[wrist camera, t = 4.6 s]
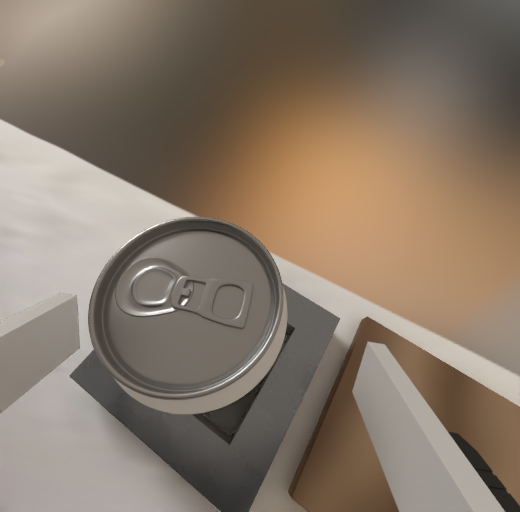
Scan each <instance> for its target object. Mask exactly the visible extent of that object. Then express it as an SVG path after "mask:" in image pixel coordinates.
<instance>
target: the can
mask: <svg viewBox="0 0 520 512" xmlns="http://www.w3.org/2000/svg"><path fill="white" fill-rule="evenodd" d="M287 316H288V311H287V300H286V295H285V291H284V288H283V285H282V280H281V276H280V273H279V270H278V268H277V265H276V263H275V261H274V259H273V258H272V256H271V254H270V253H269V251H268V250H267V249H266V248H265V246H263V244H262V243H261V242H260V241H259V240H258V239H257V238H256V237H254V236H253V235H252V234H250V233H249V232H247V231H246V230H244V229H243V228H241V227H239V226H237V225H235V224H232V223H229V222H226V221H223V220H219V219H215V218H207V217H186V218H179V219H174V220H170V221H166V222H163V223H160V224H157V225H155V226H153V227H150V228H148V229H146V230H144V231H143V232H141V233H139V234H138V235H136V236H135V237H133V238H132V239H130V240H129V241H128V242H127V243H125V244H124V245H123V246H122V247H121V248H120V249H119V250H118V251H117V252H116V253H115V254H114V255H113V256H112V257H111V259H110V260H109V261H108V263H107V264H106V265H105V267H104V268H103V270H102V272H101V273H100V275H99V277H98V279H97V281H96V284H95V286H94V289H93V292H92V295H91V299H90V304H89V313H88V324H89V333H90V338H91V342H92V345H93V348H94V350H95V352H96V355H97V357H98V358H99V360H100V362H101V363H102V365H103V366H104V367H105V369H106V370H107V371H108V372H109V373H110V374H111V375H112V376H113V377H114V379H115V380H116V382H117V383H118V384H119V385H120V386H121V388H122V389H123V390H124V391H125V392H127V393H128V394H129V395H130V396H131V397H133V398H134V399H135V400H137V401H139V402H140V403H142V404H144V405H146V406H148V407H151V408H153V409H156V410H159V411H163V412H168V413H174V414H198V413H204V412H209V411H213V410H216V409H219V408H222V407H224V406H227V405H229V404H231V403H233V402H235V401H237V400H238V399H240V398H241V397H243V396H244V395H246V394H247V393H248V392H250V391H251V390H252V389H253V388H254V387H255V386H256V385H257V384H258V383H259V382H260V381H261V380H262V379H263V378H264V376H265V375H266V374H267V373H268V371H269V370H270V368H271V367H272V365H273V364H274V362H275V360H276V358H277V356H278V354H279V352H280V349H281V347H282V344H283V341H284V337H285V333H286V327H287Z"/></svg>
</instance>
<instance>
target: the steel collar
mask: <svg viewBox="0 0 520 512" xmlns="http://www.w3.org/2000/svg"><path fill="white" fill-rule="evenodd" d="M282 285H283V288H284V291H285V295H286V300H287V311H288V316H287V327H286V334H287V335H289V336H288V338H287V340H286V342H285V343H284V345H283V347H282V349H281V350H280V352H279V354H278V356H277V358H276V360H275V362H274V364H273V365H272V367H271V368H270V370H269V372H268V373H267V375H266V377H265V379H264V381H263V382H262V384H261V386H260V388H259V389H258V391H257V393H256V395H255V396H254V398H253V400H252V402H251V404H250V405H249V407H248V409H247V411H246V412H245V414H244V416H243V418H242V419H241V421H240V423H239V425H238V427H237V428H236V430H235V432H234V434H233V435H232V437H230V436H228V435H227V434H226V433H225V432H223V431H222V430H221V429H220V428H218V427H217V426H216V425H215V424H213V423H212V422H211V421H210V420H208V419H207V418H206V417H205V416H203V415H202V414H201V413H198V414H174V413H168V412H163V411H159V410H156V409H153V408H151V407H148V406H146V405H144V404H142V403H140V402H139V401H137V400H135V399H134V398H133V397H131V396H130V395H129V394H128V393H127V392H125V391H124V390H123V389H122V388H121V386H120V385H119V384H118V383H117V382H116V380H115V379H114V377H113V376H112V375H111V374H110V373H109V372H108V371H107V370H106V369H105V367H104V366H103V365H102V363H101V362H100V360H99V358H98V357H97V355H96V352H95V350H93V351H92V352H91V353H90V354H89V356H88V357H87V358H86V359H85V360H84V361H83V362H82V363H81V364H80V365H79V366H78V367H77V368H76V369H75V370H74V371H73V373H72V374H71V375H70V377H71V378H72V379H73V380H74V381H75V382H76V383H78V384H79V385H80V386H81V387H82V388H83V389H84V390H85V391H87V392H88V393H89V394H90V395H91V396H92V397H93V398H94V399H96V400H97V401H98V402H99V403H100V404H101V405H102V406H103V407H104V408H106V409H107V410H108V411H109V412H110V413H111V414H112V415H113V416H115V417H116V418H117V419H118V420H119V421H120V422H121V423H122V424H124V425H125V426H126V427H127V428H128V429H129V430H130V431H131V432H133V433H134V434H135V435H136V436H137V437H138V438H139V439H140V440H142V441H143V442H144V443H145V444H146V445H147V446H148V447H149V448H151V449H152V450H153V451H154V452H155V453H156V454H157V455H158V456H160V457H161V458H162V459H163V460H164V461H165V462H166V463H167V464H169V465H170V466H171V467H172V468H173V469H174V470H175V471H176V472H178V473H179V474H180V475H181V476H182V477H183V478H184V479H185V480H187V481H188V482H189V483H190V484H191V485H192V486H193V487H194V488H196V489H197V490H198V491H199V492H200V493H201V494H202V495H203V496H205V497H206V498H207V499H208V500H209V501H210V502H211V503H212V504H214V505H215V506H216V507H217V508H218V509H219V510H220V511H221V512H248V511H249V509H250V507H251V505H252V503H253V501H254V499H255V497H256V495H257V492H258V490H259V488H260V486H261V484H262V482H263V480H264V478H265V476H266V474H267V471H268V469H269V467H270V465H271V463H272V461H273V459H274V457H275V455H276V453H277V450H278V448H279V446H280V444H281V442H282V440H283V438H284V436H285V434H286V432H287V429H288V427H289V425H290V423H291V421H292V419H293V417H294V415H295V413H296V411H297V408H298V406H299V404H300V402H301V400H302V398H303V396H304V394H305V392H306V390H307V387H308V385H309V383H310V381H311V379H312V377H313V375H314V373H315V371H316V369H317V366H318V364H319V362H320V360H321V358H322V356H323V354H324V352H325V350H326V347H327V345H328V343H329V341H330V339H331V337H332V335H333V333H334V331H335V329H336V326H337V324H338V322H339V320H340V318H338V317H337V316H335V315H333V314H332V313H330V312H328V311H327V310H325V309H324V308H322V307H320V306H319V305H317V304H315V303H314V302H312V301H310V300H309V299H307V298H306V297H304V296H302V295H301V294H299V293H297V292H296V291H294V290H292V289H291V288H289V287H288V286H286V285H284V284H283V283H282Z"/></svg>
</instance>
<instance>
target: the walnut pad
mask: <svg viewBox="0 0 520 512" xmlns="http://www.w3.org/2000/svg"><path fill="white" fill-rule="evenodd" d="M367 342H373V343H380V344H385V345H386V347H387V348H388V350H389V351H390V352H391V354H392V355H393V357H394V358H395V359H396V361H397V362H398V363H399V365H400V366H401V368H402V369H403V370H404V372H405V373H406V375H407V376H408V377H409V379H410V380H411V382H412V383H413V384H414V386H415V387H416V388H417V390H418V391H419V393H420V394H421V395H422V397H423V398H424V400H425V401H426V402H427V404H428V405H429V407H430V408H431V409H432V411H433V412H434V413H435V415H436V416H437V418H438V419H439V420H440V422H441V423H442V425H443V426H444V427H445V429H446V430H447V432H453V433H458V434H459V435H460V436H461V437H462V438H463V439H464V440H466V441H467V442H468V443H469V444H470V445H471V446H472V447H473V448H474V449H475V450H477V452H478V453H479V454H480V455H481V457H482V458H483V459H484V461H485V462H486V463H487V464H488V466H489V467H490V468H491V470H492V471H493V474H494V475H496V476H497V477H498V479H499V480H500V481H501V482H502V484H503V485H504V486H505V488H506V490H507V493H510V494H511V495H512V496H513V498H514V499H515V500H516V502H517V503H518V504H519V505H520V407H519V406H517V405H516V404H514V403H512V402H510V401H509V400H507V399H505V398H504V397H502V396H500V395H499V394H497V393H495V392H494V391H492V390H490V389H489V388H487V387H485V386H484V385H482V384H480V383H478V382H477V381H475V380H473V379H472V378H470V377H468V376H467V375H465V374H463V373H462V372H460V371H458V370H457V369H455V368H453V367H452V366H450V365H448V364H446V363H445V362H443V361H441V360H440V359H438V358H436V357H435V356H433V355H431V354H430V353H428V352H426V351H425V350H423V349H421V348H420V347H418V346H416V345H414V344H413V343H411V342H409V341H408V340H406V339H404V338H403V337H401V336H399V335H398V334H396V333H394V332H393V331H391V330H389V329H388V328H386V327H384V326H382V325H381V324H379V323H377V322H376V321H374V320H372V319H371V318H369V317H366V318H364V319H363V320H362V321H361V323H360V325H359V328H358V330H357V332H356V335H355V337H354V339H353V342H352V344H351V346H350V349H349V351H348V353H347V356H346V358H345V360H344V363H343V365H342V367H341V370H340V372H339V374H338V377H337V379H336V381H335V384H334V386H333V388H332V391H331V393H330V395H329V398H328V400H327V402H326V405H325V407H324V409H323V412H322V414H321V416H320V419H319V421H318V423H317V426H316V428H315V430H314V433H313V435H312V437H311V440H310V442H309V444H308V447H307V449H306V451H305V454H304V456H303V458H302V461H301V463H300V465H299V468H298V470H297V472H296V475H295V477H294V479H293V482H292V484H291V486H290V489H289V491H288V492H289V494H290V496H291V498H292V499H293V500H295V501H296V502H297V503H298V504H299V505H301V506H302V507H303V508H304V509H306V510H307V511H308V512H399V510H398V507H397V505H396V502H395V500H394V497H393V494H392V492H391V489H390V487H389V484H388V482H387V479H386V477H385V474H384V471H383V469H382V466H381V464H380V461H379V459H378V456H377V454H376V451H375V449H374V446H373V443H372V441H371V438H370V436H369V433H368V431H367V428H366V426H365V423H364V420H363V418H362V415H361V413H360V410H359V408H358V405H357V403H356V400H355V398H354V395H353V392H352V391H353V387H354V384H355V381H356V378H357V374H358V371H359V368H360V365H361V361H362V358H363V355H364V352H365V348H366V345H367Z"/></svg>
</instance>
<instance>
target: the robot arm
mask: <svg viewBox="0 0 520 512" xmlns="http://www.w3.org/2000/svg"><path fill="white" fill-rule="evenodd" d="M79 348H80V340H79V322H78V305H77V295H72V294H66V293H58V294H56V295H54V296H52V297H50V298H48V299H46V300H44V301H42V302H40V303H38V304H36V305H34V306H32V307H30V308H28V309H26V310H24V311H22V312H20V313H18V314H15V315H13V316H11V317H9V318H7V319H5V320H3V321H1V322H0V413H2V412H3V411H4V410H5V409H6V408H8V407H9V406H10V405H11V404H13V403H14V402H15V401H16V400H17V399H19V398H20V397H21V396H22V395H23V394H25V393H26V392H27V391H28V390H29V389H31V388H32V387H33V386H34V385H35V384H37V383H38V382H39V381H40V380H42V379H43V378H44V377H45V376H46V375H48V374H49V373H50V372H51V371H52V370H54V369H55V368H56V367H57V366H58V365H60V364H61V363H62V362H63V361H65V360H66V359H67V358H68V357H69V356H71V355H72V354H73V353H74V352H75V351H77V350H78V349H79ZM352 392H353V395H354V398H355V400H356V403H357V405H358V408H359V410H360V413H361V415H362V418H363V420H364V423H365V426H366V428H367V431H368V433H369V436H370V438H371V441H372V443H373V446H374V449H375V451H376V454H377V456H378V459H379V461H380V464H381V466H382V469H383V471H384V474H385V477H386V479H387V482H388V484H389V487H390V489H391V492H392V494H393V497H394V500H395V502H396V505H397V507H398V510H399V512H520V505H519V504H518V503H517V502H516V500H515V499H514V498H513V496H512V495H511V494H510V493H507V490H506V488H505V486H504V485H503V484H502V482H501V481H500V480H499V479H498V477H497V476H496V475H494V474H493V471H492V470H491V468H490V467H489V466H488V464H487V463H486V462H485V461H484V459H483V458H482V457H481V455H480V454H479V453H478V452H477V450H475V449H474V448H473V447H472V446H471V445H470V444H469V443H468V442H467V441H466V440H464V439H463V438H462V437H461V436H460V435H459V434H458V433H453V432H447V430H446V429H445V427H444V426H443V425H442V423H441V422H440V420H439V419H438V418H437V416H436V415H435V413H434V412H433V411H432V409H431V408H430V407H429V405H428V404H427V402H426V401H425V400H424V398H423V397H422V395H421V394H420V393H419V391H418V390H417V388H416V387H415V386H414V384H413V383H412V382H411V380H410V379H409V377H408V376H407V375H406V373H405V372H404V370H403V369H402V368H401V366H400V365H399V363H398V362H397V361H396V359H395V358H394V357H393V355H392V354H391V352H390V351H389V350H388V348H387V347H386V345H385V344H380V343H373V342H367V345H366V348H365V352H364V355H363V358H362V361H361V365H360V368H359V371H358V374H357V378H356V381H355V384H354V387H353V391H352Z"/></svg>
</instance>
